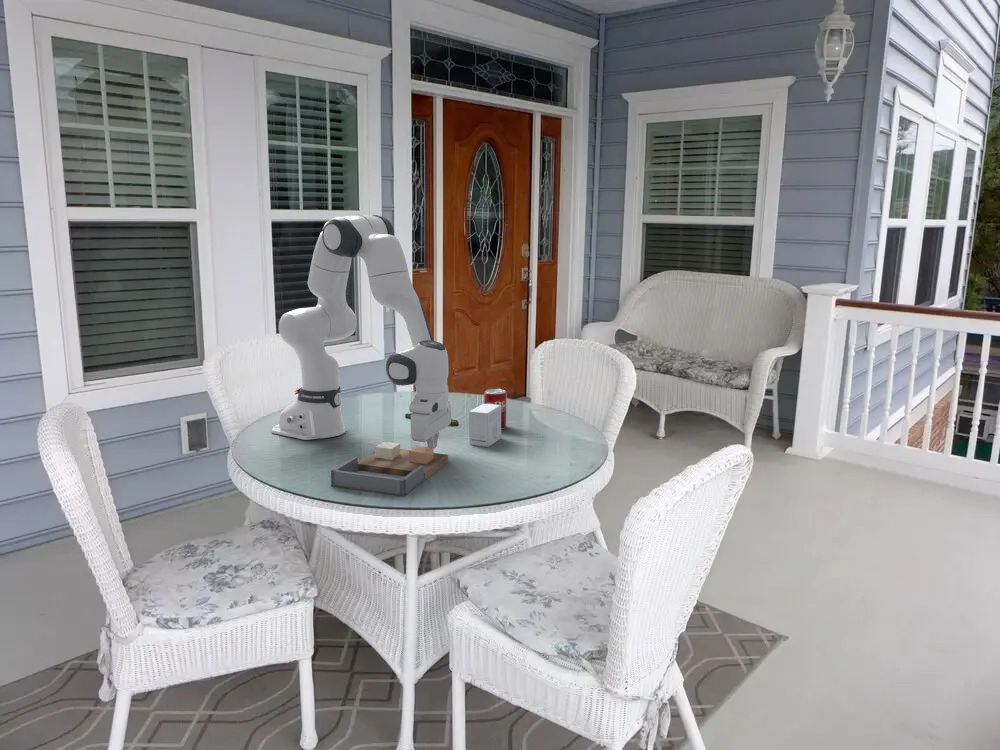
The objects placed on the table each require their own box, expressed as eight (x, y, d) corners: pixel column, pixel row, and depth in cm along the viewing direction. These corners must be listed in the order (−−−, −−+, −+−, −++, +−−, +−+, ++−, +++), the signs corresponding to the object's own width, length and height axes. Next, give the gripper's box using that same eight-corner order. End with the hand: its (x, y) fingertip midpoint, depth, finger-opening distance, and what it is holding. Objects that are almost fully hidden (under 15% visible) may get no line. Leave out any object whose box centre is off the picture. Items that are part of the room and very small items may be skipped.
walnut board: (355, 470, 206) (355, 463, 206) (383, 453, 221) (383, 446, 220) (424, 480, 200) (424, 472, 199) (448, 461, 215) (448, 454, 214)
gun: (387, 424, 253) (420, 416, 265) (428, 434, 241) (461, 426, 253) (387, 416, 253) (420, 409, 264) (428, 426, 241) (461, 418, 252)
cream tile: (375, 457, 211) (375, 446, 210) (383, 452, 215) (383, 441, 215) (392, 459, 209) (391, 448, 209) (400, 454, 214) (400, 443, 213)
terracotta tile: (408, 461, 208) (408, 450, 207) (416, 456, 212) (416, 445, 212) (426, 463, 206) (426, 453, 206) (433, 458, 211) (433, 447, 210)
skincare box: (482, 435, 240) (482, 402, 238) (501, 438, 238) (502, 405, 236) (468, 444, 231) (468, 410, 229) (488, 447, 228) (488, 413, 226)
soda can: (509, 429, 247) (510, 393, 244) (488, 431, 244) (488, 394, 242) (501, 423, 253) (501, 388, 251) (480, 425, 251) (480, 389, 248)
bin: (331, 486, 194) (330, 470, 194) (354, 471, 206) (354, 456, 205) (403, 496, 188) (403, 480, 187) (424, 480, 199) (424, 465, 199)
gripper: (436, 391, 224) (436, 437, 226) (406, 407, 205) (406, 457, 207) (456, 392, 222) (456, 439, 225) (428, 409, 203) (428, 460, 206)
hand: (432, 448), depth 216 cm, fingers closed
